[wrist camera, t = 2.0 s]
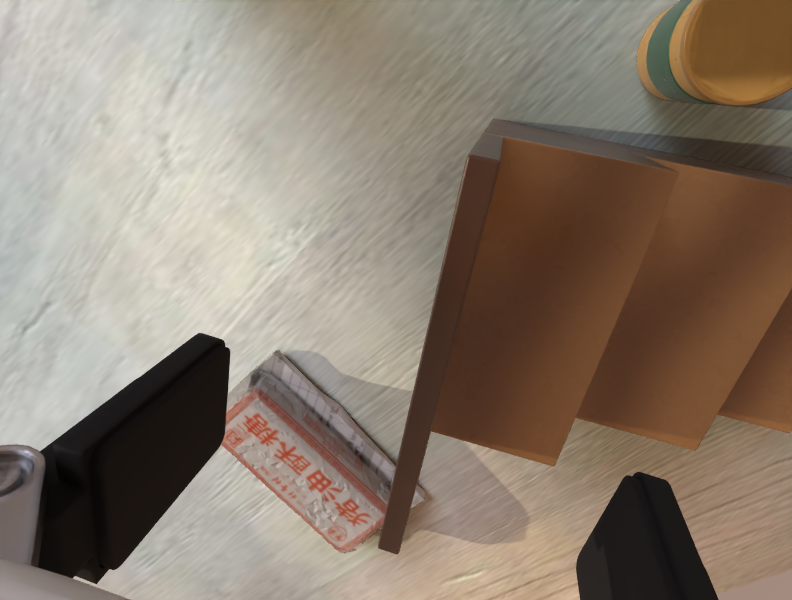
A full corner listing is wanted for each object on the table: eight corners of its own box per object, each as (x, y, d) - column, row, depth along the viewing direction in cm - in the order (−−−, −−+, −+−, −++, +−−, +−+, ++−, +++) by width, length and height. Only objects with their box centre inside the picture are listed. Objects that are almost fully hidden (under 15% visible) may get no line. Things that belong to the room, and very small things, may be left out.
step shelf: (897, 198, 25) (1715, 412, 8) (765, 404, 31) (1074, 776, 14) (493, 118, 28) (467, 153, 11) (443, 321, 34) (377, 548, 17)
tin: (656, -12, 24) (720, -58, 17) (760, 4, 23) (872, -37, 16) (620, 94, 26) (662, 93, 19) (714, 111, 25) (794, 117, 18)
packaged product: (180, 439, 38) (250, 376, 34) (214, 403, 42) (280, 344, 38) (336, 579, 40) (419, 537, 36) (353, 532, 45) (428, 490, 41)
